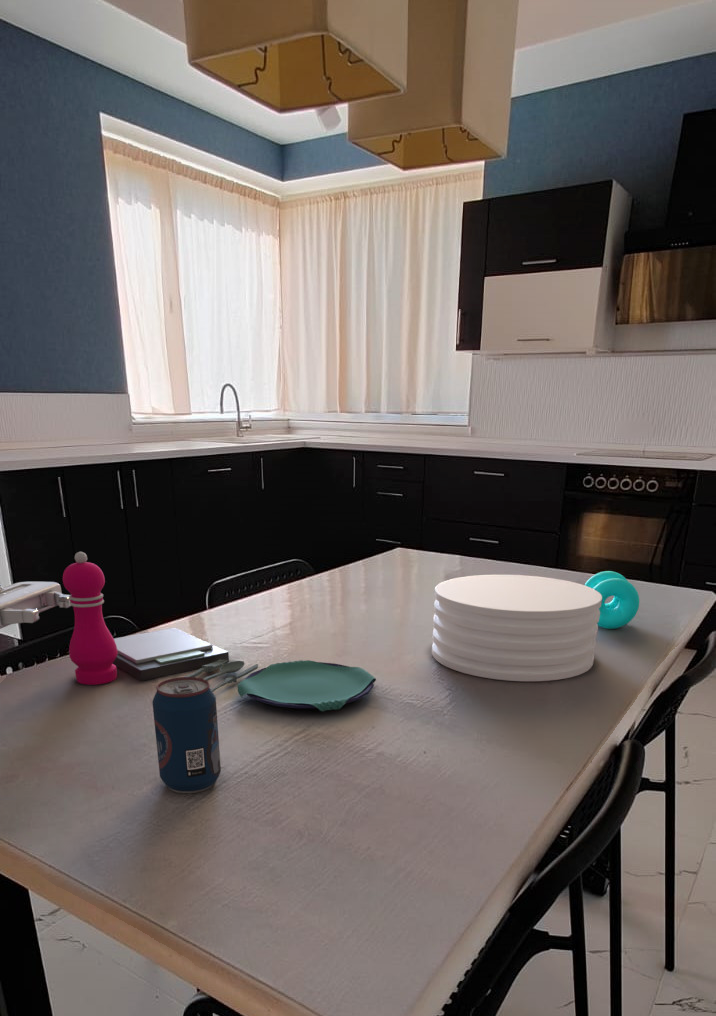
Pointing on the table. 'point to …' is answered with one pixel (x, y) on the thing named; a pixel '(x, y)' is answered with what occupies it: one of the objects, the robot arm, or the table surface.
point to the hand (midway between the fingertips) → (54, 608)
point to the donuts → (615, 599)
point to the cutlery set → (297, 683)
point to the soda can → (187, 734)
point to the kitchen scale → (164, 653)
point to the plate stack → (515, 627)
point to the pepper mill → (89, 624)
